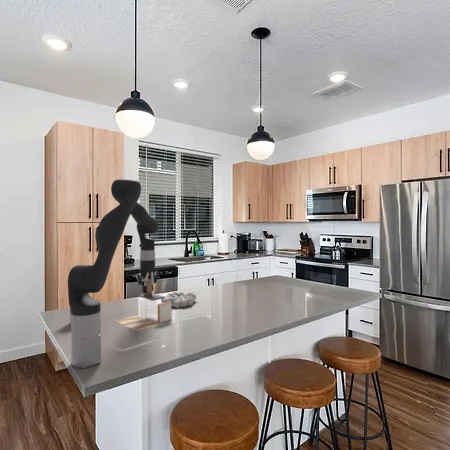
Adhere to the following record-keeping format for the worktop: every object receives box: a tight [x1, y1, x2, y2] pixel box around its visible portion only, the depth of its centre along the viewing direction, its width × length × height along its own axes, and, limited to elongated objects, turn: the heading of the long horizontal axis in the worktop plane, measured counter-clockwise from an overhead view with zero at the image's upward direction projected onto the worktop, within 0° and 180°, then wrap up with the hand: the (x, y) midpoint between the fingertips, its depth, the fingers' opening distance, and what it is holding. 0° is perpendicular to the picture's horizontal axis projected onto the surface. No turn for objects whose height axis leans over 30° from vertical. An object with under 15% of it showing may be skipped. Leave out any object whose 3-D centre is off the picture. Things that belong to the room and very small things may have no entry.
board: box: [114, 315, 160, 332], centre depth 148 cm, size 20×12×1 cm, turn 46°
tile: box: [157, 302, 173, 324], centre depth 151 cm, size 2×7×9 cm, turn 136°
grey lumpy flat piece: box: [160, 291, 197, 309], centre depth 185 cm, size 22×21×6 cm
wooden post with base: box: [138, 279, 164, 302], centre depth 159 cm, size 12×7×9 cm, turn 46°
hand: (147, 292), depth 161 cm, fingers closed on wooden post with base, 3 cm apart
